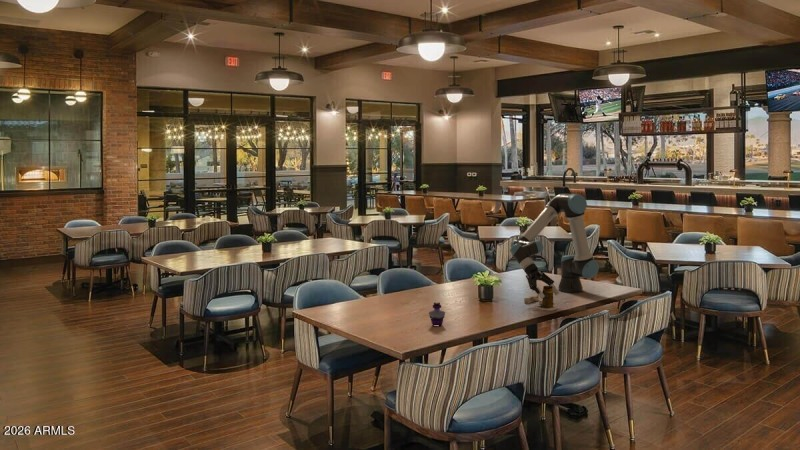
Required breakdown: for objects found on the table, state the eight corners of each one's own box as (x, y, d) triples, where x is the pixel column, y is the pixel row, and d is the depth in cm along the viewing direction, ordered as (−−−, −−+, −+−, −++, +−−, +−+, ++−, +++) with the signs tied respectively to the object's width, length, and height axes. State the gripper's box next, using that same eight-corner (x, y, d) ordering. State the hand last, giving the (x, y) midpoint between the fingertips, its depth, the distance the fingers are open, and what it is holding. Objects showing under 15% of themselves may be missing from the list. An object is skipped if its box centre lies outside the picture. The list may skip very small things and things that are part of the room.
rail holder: (536, 300, 385) (536, 295, 384) (553, 303, 376) (553, 298, 375) (524, 303, 377) (524, 298, 377) (540, 306, 368) (540, 301, 368)
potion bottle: (444, 322, 335) (444, 300, 334) (446, 327, 326) (446, 304, 325) (428, 323, 334) (427, 301, 333) (429, 327, 326) (429, 304, 325)
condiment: (556, 307, 362) (556, 286, 360) (546, 309, 357) (546, 288, 356) (546, 304, 368) (546, 284, 366) (536, 307, 363) (536, 286, 362)
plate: (545, 305, 371) (545, 303, 370) (561, 308, 362) (561, 306, 362) (533, 308, 363) (533, 306, 363) (549, 311, 355) (549, 310, 355)
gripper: (538, 268, 381) (559, 296, 371) (511, 273, 364) (533, 303, 355) (545, 260, 376) (567, 288, 366) (519, 265, 360) (540, 295, 350)
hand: (550, 295), depth 360 cm, fingers open, 13 cm apart
